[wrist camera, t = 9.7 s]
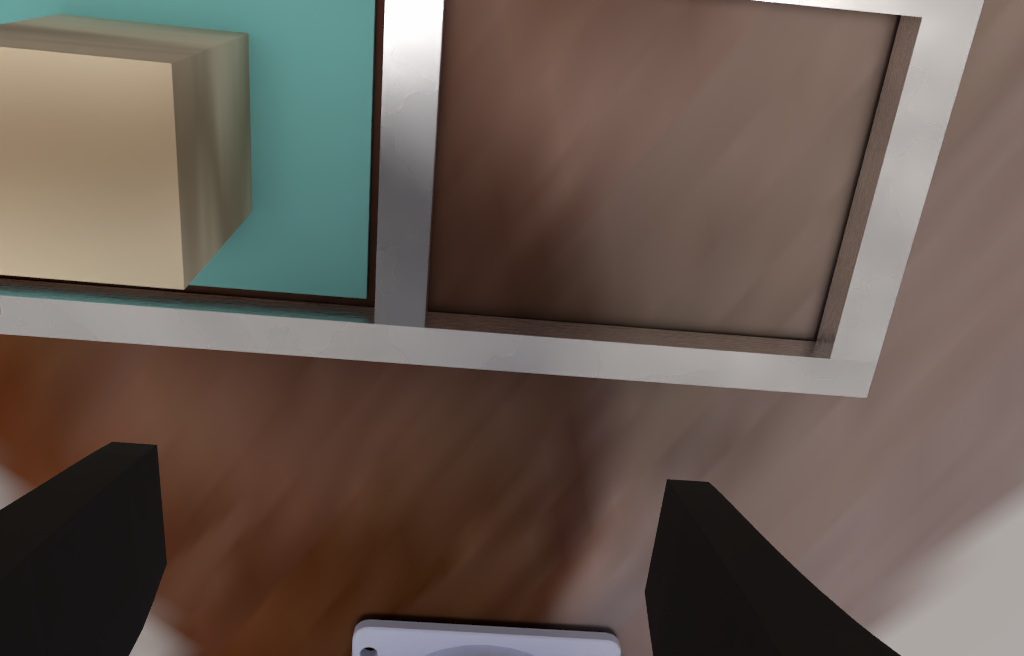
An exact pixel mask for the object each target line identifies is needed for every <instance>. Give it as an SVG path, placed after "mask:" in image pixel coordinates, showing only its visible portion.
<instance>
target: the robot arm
mask: <svg viewBox="0 0 1024 656" xmlns="http://www.w3.org/2000/svg"><path fill="white" fill-rule="evenodd" d="M166 564H167V560H166V548H165V536H164V524H163V512H162V500H161V488H160V476H159V464H158V451H157V445H150V444H135V443H120V442H111V443H110V444H108V445H106V446H104V447H102V448H100V449H99V450H97V451H95V452H93V453H92V454H90V455H88V456H87V457H85V458H83V459H82V460H80V461H79V462H77V463H75V464H74V465H72V466H71V467H69V468H67V469H66V470H64V471H63V472H61V473H59V474H58V475H56V476H55V477H53V478H51V479H50V480H48V481H47V482H45V483H43V484H42V485H40V486H39V487H37V488H35V489H34V490H32V491H31V492H29V493H27V494H26V495H24V496H22V497H21V498H19V499H17V500H16V501H14V502H13V503H11V504H9V505H8V506H6V507H4V508H3V509H1V510H0V656H129V654H130V652H131V650H132V649H133V647H134V645H135V643H136V641H137V639H138V637H139V635H140V633H141V631H142V629H143V627H144V624H145V622H146V619H147V616H148V614H149V611H150V609H151V606H152V603H153V601H154V598H155V595H156V592H157V590H158V587H159V584H160V581H161V578H162V575H163V573H164V570H165V567H166ZM645 598H646V606H647V614H648V622H649V629H650V636H651V643H652V650H653V656H901V655H899V654H898V653H897V652H895V651H894V650H892V649H891V648H890V647H888V646H887V645H886V644H884V643H883V642H882V641H880V640H879V639H878V638H876V637H875V636H874V635H872V634H871V633H870V632H869V631H867V630H866V629H865V628H864V627H862V626H861V625H860V624H859V623H857V622H856V621H855V620H854V619H852V618H851V617H850V616H849V615H848V614H847V613H846V612H844V611H843V610H842V609H841V608H840V607H839V606H837V605H836V604H835V603H834V602H833V601H832V600H830V599H829V598H828V597H827V596H826V595H825V594H823V593H822V592H821V591H820V590H819V589H818V588H817V587H816V586H814V585H813V584H812V583H811V582H810V581H809V580H808V579H807V578H806V577H805V576H804V575H802V574H801V573H800V572H799V571H798V570H797V569H796V568H795V567H794V566H793V565H792V564H791V563H790V562H789V561H788V560H787V559H786V558H785V557H784V556H782V555H781V554H780V553H779V552H778V551H777V550H776V549H775V548H774V547H773V546H772V545H771V544H770V543H769V542H768V541H767V540H766V539H765V538H764V537H763V536H762V535H761V534H760V533H759V532H758V531H757V530H756V529H755V528H754V527H753V526H752V525H751V524H750V523H749V522H748V521H747V520H746V519H745V518H744V516H743V515H742V514H741V513H740V512H739V511H738V510H737V509H736V508H735V507H734V506H733V505H732V504H731V503H730V502H729V501H728V500H727V499H726V498H725V497H724V496H723V495H722V494H721V493H720V492H719V491H718V490H717V489H716V488H715V487H714V486H712V485H711V484H710V483H709V482H700V481H685V480H670V479H667V482H666V487H665V492H664V497H663V502H662V507H661V513H660V518H659V523H658V528H657V533H656V538H655V543H654V548H653V553H652V558H651V563H650V568H649V573H648V578H647V583H646V588H645ZM366 647H371V648H374V649H375V650H372V651H369V650H366V649H364V648H366ZM620 655H621V650H620V644H619V640H618V639H617V637H615V636H614V635H612V634H609V633H603V632H585V631H567V630H550V629H532V628H514V627H496V626H479V625H461V624H443V623H425V622H407V621H390V620H372V619H371V620H364V621H362V622H359V623H358V624H357V625H356V626H355V630H354V634H353V639H352V656H620Z"/></svg>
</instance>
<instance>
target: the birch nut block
mask: <svg viewBox="0 0 1024 656" xmlns="http://www.w3.org/2000/svg"><path fill="white" fill-rule="evenodd" d="M251 212H252V169H251V124H250V78H249V33H242V32H232V31H222V30H212V29H202V28H192V27H182V26H172V25H162V24H152V23H142V22H132V21H123V20H113V19H103V18H93V17H83V16H73V15H63V14H56V15H50V16H45V17H39V18H33V19H28V20H22V21H16V22H10V23H5V24H0V275H11V276H23V277H35V278H48V279H60V280H72V281H84V282H96V283H108V284H120V285H132V286H145V287H157V288H169V289H181V290H185V288H186V287H187V286H188V285H189V284H190V283H191V281H192V280H193V279H194V278H195V277H196V276H197V275H198V273H199V272H200V271H201V270H202V269H203V268H204V267H205V265H206V264H207V263H208V262H209V261H210V260H211V258H212V257H213V256H214V255H215V254H216V253H217V252H218V250H219V249H220V248H221V247H222V246H223V245H224V244H225V242H226V241H227V240H228V239H229V238H230V237H231V235H232V234H233V233H234V232H235V231H236V230H237V229H238V227H239V226H240V225H241V224H242V223H243V222H244V220H245V219H246V218H247V217H248V216H249V215H250V214H251Z"/></svg>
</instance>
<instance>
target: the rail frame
mask: <svg viewBox="0 0 1024 656" xmlns="http://www.w3.org/2000/svg"><path fill="white" fill-rule="evenodd" d="M756 1H766V2H776V3H786V4H796V5H806V6H816V7H825V8H835V9H845V10H855V11H865V12H875V13H885V14H895V15H901V18H900V22H899V26H898V30H897V34H896V38H895V41H894V45H893V49H892V53H891V57H890V61H889V64H888V68H887V72H886V76H885V80H884V84H883V87H882V91H881V95H880V99H879V103H878V107H877V110H876V114H875V118H874V122H873V126H872V130H871V133H870V137H869V141H868V145H867V149H866V153H865V156H864V160H863V164H862V168H861V172H860V176H859V179H858V183H857V187H856V191H855V195H854V199H853V202H852V206H851V210H850V214H849V218H848V222H847V225H846V229H845V233H844V237H843V241H842V245H841V248H840V252H839V256H838V260H837V264H836V268H835V271H834V275H833V279H832V283H831V287H830V291H829V294H828V298H827V302H826V306H825V310H824V314H823V317H822V321H821V325H820V329H819V333H818V337H817V340H816V342H814V341H801V340H788V339H775V338H762V337H749V336H736V335H723V334H711V333H698V332H685V331H672V330H659V329H646V328H633V327H620V326H607V325H595V324H582V323H569V322H556V321H543V320H530V319H517V318H504V317H491V316H479V315H466V314H453V313H440V312H427V307H428V290H429V273H430V257H431V240H432V223H433V206H434V190H435V173H436V156H437V140H438V123H439V106H440V89H441V73H442V56H443V39H444V23H445V6H446V0H385V15H384V45H383V76H382V106H381V136H380V166H379V196H378V226H377V256H376V286H375V307H363V306H350V305H337V304H324V303H311V302H298V301H285V300H272V299H259V298H247V297H234V296H221V295H208V294H195V293H182V292H169V291H156V290H143V289H131V288H118V287H105V286H92V285H79V284H66V283H53V282H40V281H27V280H15V279H2V278H0V334H10V335H23V336H37V337H50V338H64V339H77V340H91V341H104V342H118V343H132V344H145V345H159V346H172V347H186V348H199V349H213V350H226V351H240V352H253V353H267V354H280V355H294V356H307V357H321V358H334V359H348V360H362V361H375V362H389V363H402V364H416V365H429V366H443V367H456V368H470V369H483V370H497V371H510V372H524V373H537V374H551V375H565V376H578V377H592V378H605V379H619V380H632V381H646V382H659V383H673V384H686V385H700V386H713V387H727V388H740V389H754V390H767V391H781V392H795V393H808V394H822V395H835V396H849V397H862V398H867V395H868V392H869V388H870V385H871V382H872V378H873V375H874V371H875V368H876V365H877V361H878V358H879V355H880V351H881V348H882V344H883V341H884V338H885V334H886V331H887V327H888V324H889V321H890V317H891V314H892V311H893V307H894V304H895V300H896V297H897V294H898V290H899V287H900V283H901V280H902V277H903V273H904V270H905V267H906V263H907V260H908V256H909V253H910V250H911V246H912V243H913V239H914V236H915V233H916V229H917V226H918V223H919V219H920V216H921V212H922V209H923V206H924V202H925V199H926V195H927V192H928V189H929V185H930V182H931V179H932V175H933V172H934V168H935V165H936V162H937V158H938V155H939V151H940V148H941V145H942V141H943V138H944V135H945V131H946V128H947V124H948V121H949V118H950V114H951V111H952V107H953V104H954V101H955V97H956V94H957V91H958V87H959V84H960V80H961V77H962V74H963V70H964V67H965V63H966V60H967V57H968V53H969V50H970V47H971V43H972V40H973V36H974V33H975V30H976V26H977V23H978V19H979V16H980V13H981V9H982V6H983V3H984V0H756ZM56 14H63V15H73V16H83V17H93V18H103V19H113V20H123V21H132V22H142V23H152V24H162V25H172V26H182V27H192V28H202V29H212V30H222V31H232V32H242V33H249V78H250V124H251V169H252V212H251V214H250V215H249V216H248V217H247V218H246V219H245V220H244V222H243V223H242V224H241V225H240V226H239V227H238V229H237V230H236V231H235V232H234V233H233V234H232V235H231V237H230V238H229V239H228V240H227V241H226V242H225V244H224V245H223V246H222V247H221V248H220V249H219V250H218V252H217V253H216V254H215V255H214V256H213V257H212V258H211V260H210V261H209V262H208V263H207V264H206V265H205V267H204V268H203V269H202V270H201V271H200V272H199V273H198V275H197V276H196V277H195V278H194V279H193V280H192V281H191V283H190V284H189V285H196V286H209V287H222V288H235V289H248V290H260V291H273V292H286V293H299V294H312V295H324V296H337V297H350V298H363V299H366V298H367V290H368V256H369V222H370V188H371V154H372V119H373V85H374V51H375V17H376V0H0V24H5V23H10V22H16V21H22V20H28V19H33V18H39V17H45V16H50V15H56Z"/></svg>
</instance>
